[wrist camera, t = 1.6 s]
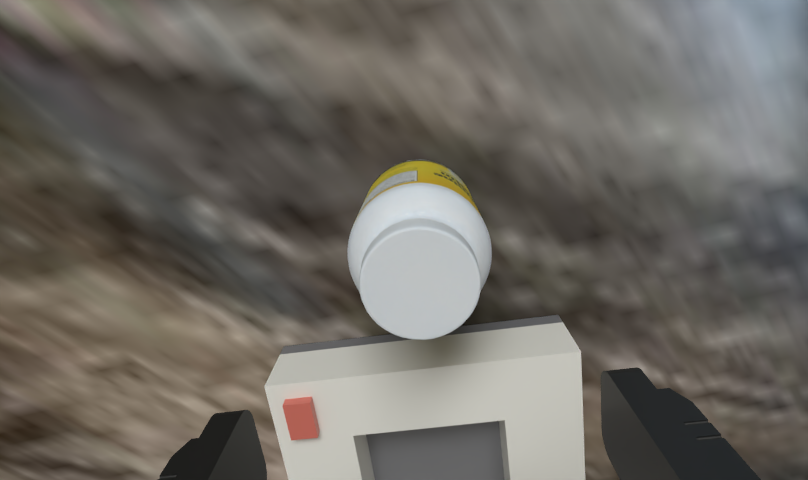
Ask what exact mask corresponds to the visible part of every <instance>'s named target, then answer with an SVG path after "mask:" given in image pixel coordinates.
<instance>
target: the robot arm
mask: <svg viewBox="0 0 808 480" xmlns="http://www.w3.org/2000/svg"><path fill="white" fill-rule="evenodd" d="M601 418H602V435H603V441H604V445H605V449H606V452H607V454H608V457H609V459H610V461H611V463H612V465H613V467H614V469H615V471H616V473H617V475H618V476H619V478H620V480H761V479H760V478H759V477H758V476H757V475H756V474H755V473H754V471H753V470H752V469H751V468H750V467H749V466H748V465H747V464H746V462H745V461H744V460H743V459H742V458H741V457H740V456H739V454H738V453H737V452H736V451H735V450H734V449H733V448H732V447H731V445H730V444H729V443H728V442H727V441H726V440H725V439H724V438H722V437H721V434H720V433H719V432H718V431H717V430H716V428H715V427H714V426H713V425H712V424H711V423H708V419H707V418H706V417H705V416H704V415H703V414H702V412H701V411H700V410H699V409H698V408H697V407H696V406H695V405H694V403H693V402H691V401H690V400H688V399H686V398H685V397H683V396H681V395H680V394H678V393H676V392H675V391H673V390H671V389H670V388H666V389H656V388H655V386H654V385H653V384H652V383H651V381H650V380H649V379H648V378H647V376H646V375H645V374H644V373H643V371H642V370H641V369H639V368H629V369H620V370H611V371H603V372H602V374H601ZM158 480H267V471H266V464H265V460H264V456H263V452H262V449H261V445H260V441H259V438H258V434H257V430H256V427H255V423H254V419H253V416H252V414H251V413H250V411H248V410H242V411H233V412H224V413H216V414H214V415H213V416H212V417H211V419H210V420H209V422H208V424H207V425H206V427H205V429H204V430H203V432H202V434H201V435H200V437H199V438H196V439H191V440H190V441H189V442H187V443H186V444H185V445H184V446H183V447H182V448H181V449H180V450H179V451H177V452H176V453H175V454H174V455H173V456H172V457H171V459H170V460H169V462H168V463H167V465H166V467H165V468H164V470H163V471H162V473H161V474H160V479H158Z"/></svg>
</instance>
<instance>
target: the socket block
mask: <svg viewBox="0 0 808 480" xmlns="http://www.w3.org/2000/svg"><path fill="white" fill-rule="evenodd" d="M264 387H265V391H266V395H267V398H268V402H269V406H270V410H271V414H272V418H273V422H274V425H275V429H276V433H277V437H278V441H279V445H280V448H281V452H282V456H283V460H284V464H285V468H286V471H287V475H288V479H289V480H585V457H584V428H583V398H582V369H581V351H580V349H579V348H578V346H577V344H576V343H575V341H574V340H573V338H572V336H571V335H570V333H569V331H568V330H567V328H566V327H565V325H564V323H563V322H562V320H561V319H560V317H559V315H553V316H545V317H536V318H527V319H519V320H510V321H501V322H493V323H484V324H475V325H467V326H460V327H458V328H457V329H455V330H454V331H452V332H450V333H448V334H446V335H444V336H441V337H438V338H434V339H427V340H414V339H407V338H402V337H399V336H396V335H394V334H388V335H380V336H371V337H362V338H354V339H345V340H336V341H327V342H319V343H310V344H301V345H293V346H284V347H283V349H282V351H281V354H280V356H279V358H278V360H277V362H276V364H275V366H274V368H273V370H272V372H271V374H270V376H269V378H268V380H267V382H266V384H265V386H264Z"/></svg>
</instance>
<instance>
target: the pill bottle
mask: <svg viewBox="0 0 808 480" xmlns="http://www.w3.org/2000/svg"><path fill="white" fill-rule="evenodd" d="M491 259H492V248H491V240H490V236H489V233H488V230H487V227H486V225H485V223H484V221H483V219H482V217H481V215H480V213H479V211H478V209H477V207H476V205H475V203H474V201H473V199H472V197H471V195H470V192H469V190H468V189H467V187H466V185H465V184H464V182H463V181H462V180H461V178H460V177H459V176H458V175H457V174H456V173H454V172H453V171H452V170H451V169H449V168H447V167H446V166H444V165H442V164H440V163H437V162H433V161H429V160H409V161H405V162H401V163H398V164H396V165H394V166H392V167H390V168H389V169H387V170H386V171H384V172H383V173H382V174H381V175H380V176H379V177H378V178H377V179H376V180H375V182H374V183H373V185H372V186H371V188H370V190H369V192H368V194H367V196H366V198H365V201H364V203H363V205H362V207H361V209H360V211H359V214H358V216H357V218H356V220H355V222H354V225H353V227H352V230H351V233H350V237H349V242H348V264H349V269H350V273H351V276H352V279H353V281H354V283H355V285H356V287H357V289H358V290H359V292H360V295H361V299H362V302H363V304H364V306H365V308H366V310H367V312H368V313H369V315H370V316H371V317H372V319H373V320H374V321H375V322H376V323H377V324H378V325H379V326H381V327H382V328H383V329H385V330H386V331H388V332H390V333H392V334H394V335H396V336H399V337H402V338H407V339H414V340H427V339H434V338H438V337H441V336H444V335H446V334H448V333H450V332H452V331H454V330H455V329H457V328H458V327H460V326H461V325H462V324H463V323H464V322H465V321H466V320H467V319H468V318H469V317H470V315H471V314H472V312H473V311H474V309H475V307H476V305H477V302H478V299H479V296H480V291H481V289H482V288H483V286H484V284H485V282H486V280H487V277H488V274H489V271H490V266H491Z"/></svg>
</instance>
